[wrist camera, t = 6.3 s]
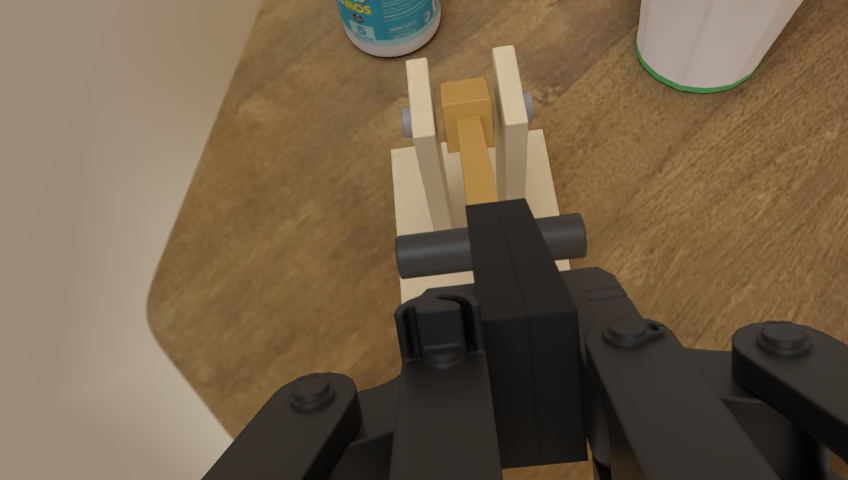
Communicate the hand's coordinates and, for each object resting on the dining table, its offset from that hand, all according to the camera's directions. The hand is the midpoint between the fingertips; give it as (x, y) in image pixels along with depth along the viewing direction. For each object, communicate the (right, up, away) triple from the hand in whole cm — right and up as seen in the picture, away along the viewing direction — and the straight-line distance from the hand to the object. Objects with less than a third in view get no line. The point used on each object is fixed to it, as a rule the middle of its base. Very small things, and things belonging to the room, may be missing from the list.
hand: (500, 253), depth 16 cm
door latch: (+1, +1, +25) cm, 25 cm away
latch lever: (0, +2, +10) cm, 11 cm away
